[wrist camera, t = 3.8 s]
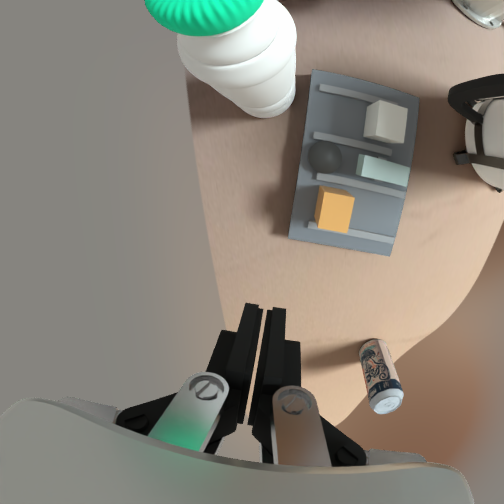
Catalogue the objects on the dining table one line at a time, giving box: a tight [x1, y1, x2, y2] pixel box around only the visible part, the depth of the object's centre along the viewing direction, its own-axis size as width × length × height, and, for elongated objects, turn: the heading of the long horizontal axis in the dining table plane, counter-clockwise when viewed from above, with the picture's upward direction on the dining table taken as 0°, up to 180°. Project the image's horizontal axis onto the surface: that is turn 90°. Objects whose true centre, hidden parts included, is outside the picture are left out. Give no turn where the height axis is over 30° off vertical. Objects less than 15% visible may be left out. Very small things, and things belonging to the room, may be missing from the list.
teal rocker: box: [356, 154, 410, 187], centre depth 26 cm, size 6×2×1 cm, turn 83°
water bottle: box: [144, 0, 296, 118], centre depth 17 cm, size 7×7×25 cm
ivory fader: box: [363, 100, 408, 143], centre depth 23 cm, size 3×4×5 cm
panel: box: [288, 69, 419, 256], centre depth 28 cm, size 13×20×4 cm, turn 173°
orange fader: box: [314, 185, 355, 233], centre depth 28 cm, size 3×4×5 cm
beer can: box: [359, 339, 403, 414], centre depth 34 cm, size 5×5×12 cm
